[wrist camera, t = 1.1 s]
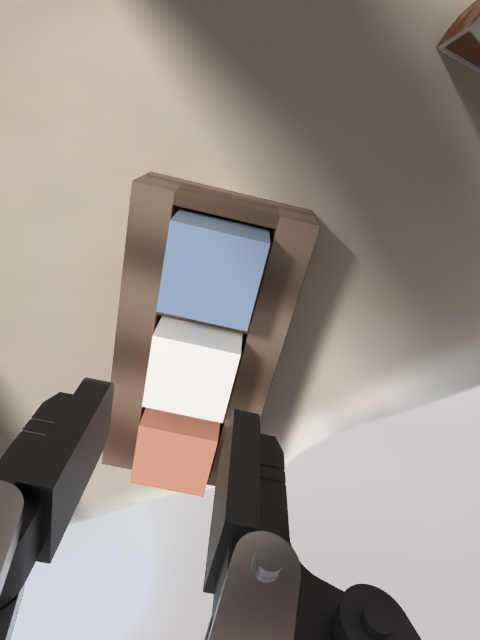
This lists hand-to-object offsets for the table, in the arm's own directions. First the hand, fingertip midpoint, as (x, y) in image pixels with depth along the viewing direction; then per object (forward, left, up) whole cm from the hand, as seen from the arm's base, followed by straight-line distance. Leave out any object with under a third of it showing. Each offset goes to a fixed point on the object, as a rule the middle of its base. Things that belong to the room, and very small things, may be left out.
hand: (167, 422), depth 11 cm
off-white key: (+6, 0, -14) cm, 16 cm away
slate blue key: (0, 0, -14) cm, 14 cm away
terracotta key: (+13, 0, -14) cm, 19 cm away
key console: (+7, 0, -17) cm, 18 cm away
